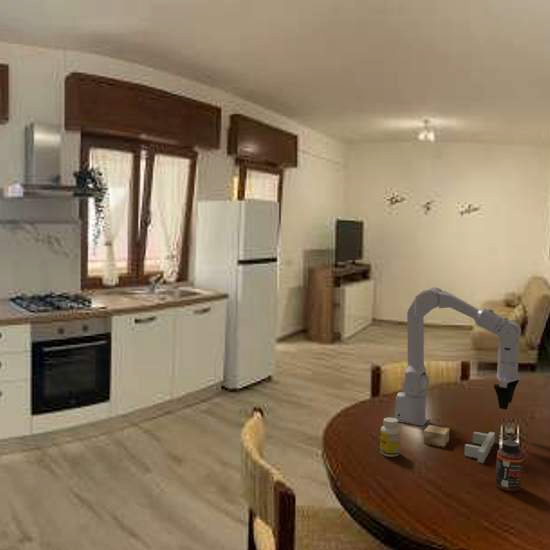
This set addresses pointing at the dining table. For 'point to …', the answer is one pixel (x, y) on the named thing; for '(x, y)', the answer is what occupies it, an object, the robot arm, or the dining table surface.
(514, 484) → the supplement bottle
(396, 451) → the supplement bottle
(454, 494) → the dining table surface
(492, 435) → the bracket
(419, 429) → the dining table surface
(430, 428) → the maple block
